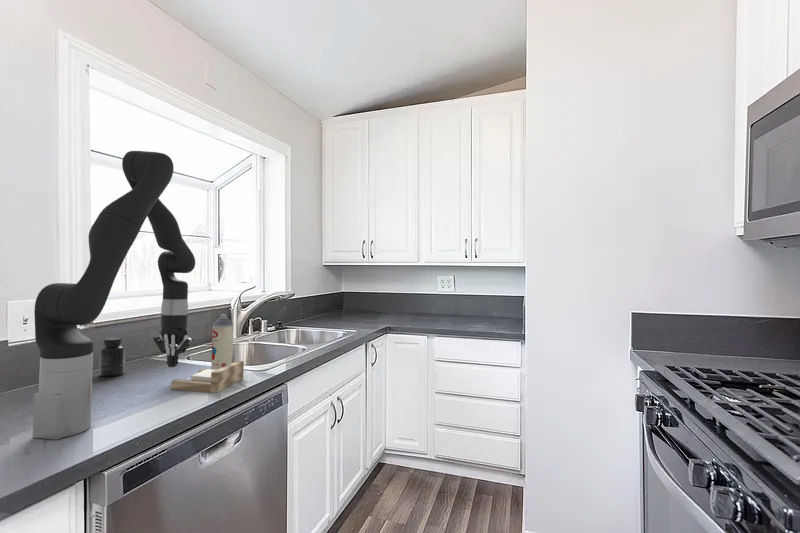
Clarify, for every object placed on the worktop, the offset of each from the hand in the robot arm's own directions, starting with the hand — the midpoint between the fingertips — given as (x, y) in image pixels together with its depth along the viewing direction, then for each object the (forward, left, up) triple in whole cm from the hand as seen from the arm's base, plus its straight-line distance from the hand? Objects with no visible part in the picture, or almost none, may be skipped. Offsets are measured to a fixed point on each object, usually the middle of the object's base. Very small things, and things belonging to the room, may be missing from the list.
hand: (172, 366), depth 129 cm
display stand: (0, -13, -5) cm, 14 cm away
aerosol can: (+16, -7, -5) cm, 19 cm away
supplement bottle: (+2, +24, -5) cm, 25 cm away
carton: (0, -13, -5) cm, 14 cm away
